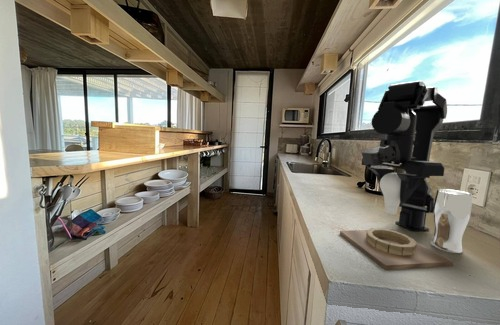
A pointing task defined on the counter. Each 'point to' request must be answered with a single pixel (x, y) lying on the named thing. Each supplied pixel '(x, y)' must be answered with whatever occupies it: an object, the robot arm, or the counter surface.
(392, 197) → the lightbulb
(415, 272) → the counter surface
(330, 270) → the counter surface
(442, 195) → the beer glass
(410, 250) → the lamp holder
